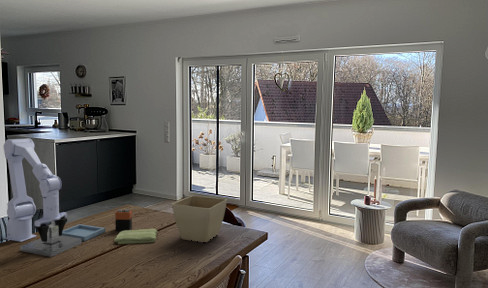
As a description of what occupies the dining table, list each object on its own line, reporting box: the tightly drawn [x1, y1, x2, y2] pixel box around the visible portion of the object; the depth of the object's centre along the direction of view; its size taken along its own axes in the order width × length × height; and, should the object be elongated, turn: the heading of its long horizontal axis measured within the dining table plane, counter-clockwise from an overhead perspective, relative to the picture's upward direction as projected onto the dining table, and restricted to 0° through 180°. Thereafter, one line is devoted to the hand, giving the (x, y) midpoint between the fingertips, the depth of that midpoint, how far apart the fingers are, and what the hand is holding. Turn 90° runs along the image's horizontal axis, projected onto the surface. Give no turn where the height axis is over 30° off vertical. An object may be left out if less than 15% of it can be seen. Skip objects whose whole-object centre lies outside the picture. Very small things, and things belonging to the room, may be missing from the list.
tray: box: [62, 223, 106, 242], centre depth 169 cm, size 15×13×2 cm
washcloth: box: [114, 228, 158, 245], centre depth 166 cm, size 13×18×3 cm
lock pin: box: [45, 223, 59, 245], centre depth 153 cm, size 4×4×9 cm
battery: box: [114, 208, 133, 232], centre depth 177 cm, size 4×7×10 cm, turn 91°
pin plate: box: [19, 236, 83, 258], centre depth 153 cm, size 16×16×2 cm
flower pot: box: [171, 195, 228, 243], centre depth 169 cm, size 19×19×17 cm
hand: (51, 238), depth 153 cm, fingers open, 7 cm apart
